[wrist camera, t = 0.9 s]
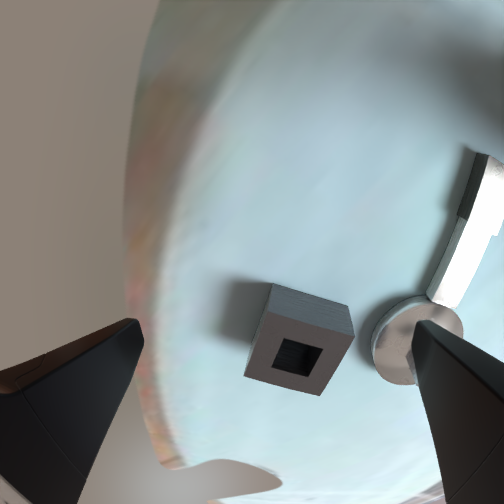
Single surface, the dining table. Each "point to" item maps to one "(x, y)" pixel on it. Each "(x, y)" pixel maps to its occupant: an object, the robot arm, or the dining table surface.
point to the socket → (299, 341)
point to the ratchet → (444, 275)
